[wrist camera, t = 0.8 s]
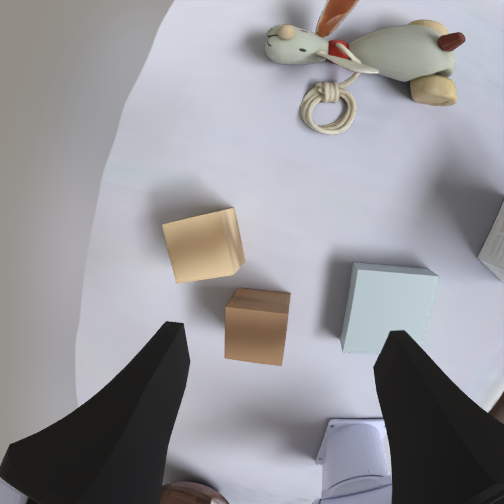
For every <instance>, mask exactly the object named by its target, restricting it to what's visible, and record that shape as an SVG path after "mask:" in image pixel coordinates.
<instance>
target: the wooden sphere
mask: <svg viewBox="0 0 504 504" xmlns="http://www.w3.org/2000/svg"><path fill="white" fill-rule="evenodd" d="M160 504H229V503H228V501H227V500H226V499H225V498H224V497H223V496H222V495H221V494H220V493H218V492H217V491H215V490H214V489H212V488H210V487H208V486H205V485H203V484H199V483H195V482H186V481H182V482H173V483H169V484H166V485H164V486H162V489H161V499H160Z"/></svg>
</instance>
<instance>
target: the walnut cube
mask: <svg viewBox="0 0 504 504" xmlns="http://www.w3.org/2000/svg"><path fill="white" fill-rule="evenodd" d="M290 294H291V293H286V292H276V291H266V290H256V289H247V288H238V289H237V291H236V292H235V293H234V295H233V296H232V298H231V299H230V301H229V302H228V304H227V305H226V307H225V358H226V359H233V360H239V361H246V362H254V363H261V364H269V365H278V366H282V360H283V353H284V346H285V340H286V331H287V322H288V313H289V304H290Z"/></svg>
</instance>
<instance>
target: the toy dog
mask: <svg viewBox="0 0 504 504" xmlns="http://www.w3.org/2000/svg"><path fill="white" fill-rule="evenodd" d="M358 2H359V0H327V1H326V4H325V6H324V9H323V11H322V13H321V15H320V17H319V20H318V23H317V26H316V33H313V32H310V31H308V30H305V29H302V28H298V27H295V26H291V25H289V24H284V25H278V26H275V27H273V28H271V29H270V30H269V31H268V32H267V35H266V44H265V52H266V54H267V56H268V57H269V58H270V59H271V60H272V61H274V62H276V63H280V64H311V63H318V62H323V61H325V60H326V59H328V60H329V61H330V62H332V63H335V64H337V65H339V66H341V67H343V68H345V69H347V70H350V71H353V72H355V73H354V74H353V75H352V76H351V77H350V78H348V79H347V80H345V81H344V82H342V83H337V82H333V83H329V82H327V81H323V82H317V83H316V85H315V87H314V88H313V89H311V90H310V91H309V92H308V93H307V94H306V95H305V97H304V99H303V101H302V103H301V115H302V118H303V120H304V121H305V123H306V124H307V125H308V126H309V127H310V128H312V129H313V130H315V131H317V132H321V133H324V134H331V135H336V134H339V133H341V132H343V131H345V130H346V129H347V128H348V127H350V125H351V124H352V122H353V120H354V118H355V115H356V101H355V99H354V97H353V96H352V94H351V93H350V92H348V91H347V90H344V89H343V88H344V87H346V86H348V85H350V84H351V83H352V82H353V81H355V80H356V78H357V77H358V76H359V74H360V73H367V74H379V75H382V76H385V77H388V78H392V79H395V80H399V81H402V82H406V81H409V80H410V88H411V96H412V99H413V100H414V101H416V102H418V103H422V104H428V105H433V106H449V105H453V104H455V103H456V102H457V95H456V88H455V84H454V82H453V81H452V80H451V79H449V78H447V77H449V76H451V75H452V73H453V72H454V69H455V64H456V59H455V54H454V51H453V50H454V49H456V48H457V47H458V46H460V45H461V44H462V43H464V42H465V36H464V35H463V34H462V33H460V32H457V33H452V34H448V30H447V29H446V27H445V26H443V25H442V24H440V23H438V22H435V21H431V20H416V21H413V22H411V23H409V24H408V25H401V26H394V27H389V28H384V29H381V30H377V31H374V32H371V33H369V34H366V35H364V36H362V37H360V38H358V39H356V40H354V41H352V42H350V43H349V44H346V43H345V42H343V41H341V40H331V41H329V42H328V41H327V40H326V39H325V38H324V37H326V36H329V35H330V34H331V33H333V31H334V30H335V29H336V28H337V27H338V26H339V24H340V23H341V22H342V21H343V20H344V19H345V18H346V17H347V16H348V14H349V13H350V12H351V11H352V10H353V9H354V7H356V5H357V4H358ZM349 59H351V60H349ZM340 97H342V98H343V99H345V101H346V103H347V111H346V112H345V114H344V115H343V116H342V117H341V118H340V119H338V120H337V121H335V122H333V123H331V124H328V125H321V126H320V125H316V124H315V123H314V121H313V119H312V111H313V109H314V107H315V105H316V104H317V103H318V102H319V101H322V102H323V103H327V102H333V103H337V101H338V100H339V98H340Z"/></svg>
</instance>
